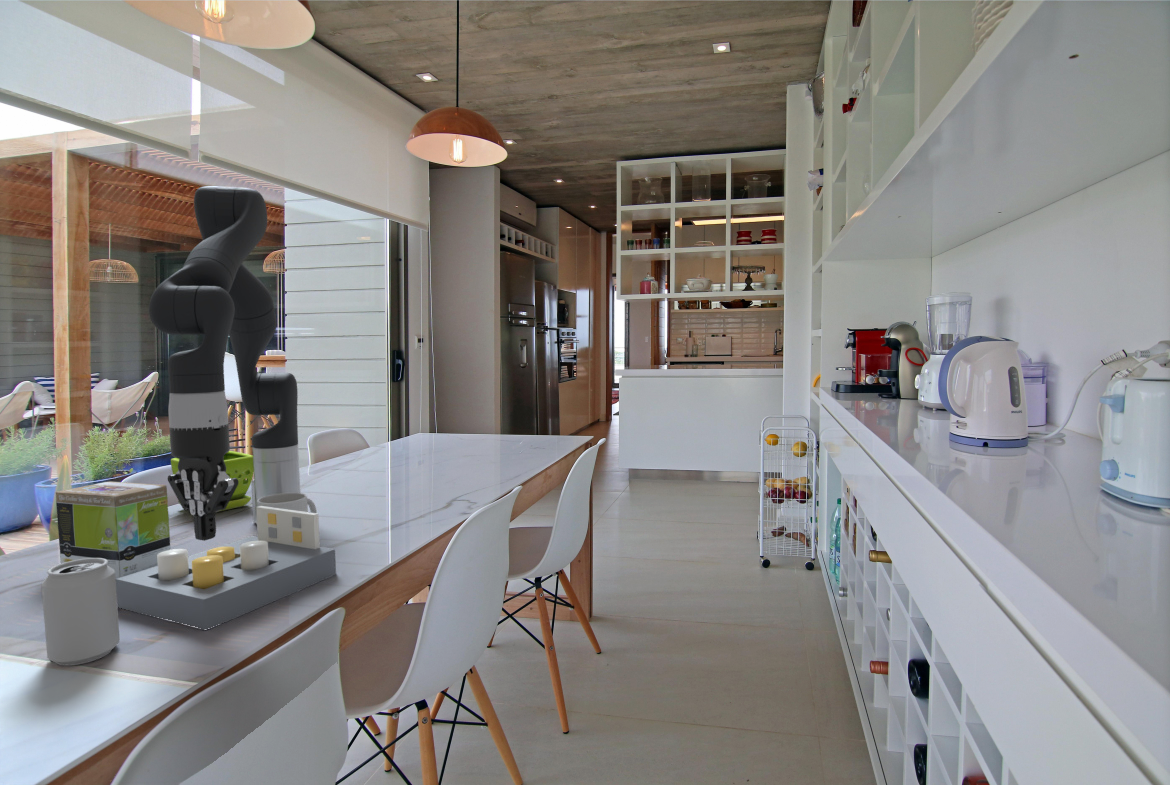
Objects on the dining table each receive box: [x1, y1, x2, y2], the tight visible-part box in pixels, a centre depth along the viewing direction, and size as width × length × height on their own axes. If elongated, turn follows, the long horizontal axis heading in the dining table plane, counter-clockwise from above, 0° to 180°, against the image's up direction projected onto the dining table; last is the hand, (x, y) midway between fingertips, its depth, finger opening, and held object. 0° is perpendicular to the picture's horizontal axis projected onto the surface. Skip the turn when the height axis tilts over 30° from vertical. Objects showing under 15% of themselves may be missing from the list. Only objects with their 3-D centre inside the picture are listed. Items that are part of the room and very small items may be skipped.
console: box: [115, 506, 337, 630], centre depth 107 cm, size 20×24×10 cm
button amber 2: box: [192, 555, 224, 589], centre depth 99 cm, size 4×4×5 cm
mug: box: [257, 492, 318, 514], centre depth 129 cm, size 11×10×10 cm
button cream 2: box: [240, 540, 269, 571], centre depth 106 cm, size 4×4×5 cm
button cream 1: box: [157, 548, 189, 581], centre depth 102 cm, size 4×4×5 cm
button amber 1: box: [207, 546, 235, 563], centre depth 110 cm, size 4×4×5 cm
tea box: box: [55, 481, 172, 580], centre depth 118 cm, size 15×10×15 cm, turn 71°
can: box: [41, 558, 120, 667], centre depth 85 cm, size 8×8×12 cm
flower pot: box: [170, 450, 254, 513], centre depth 160 cm, size 14×14×13 cm
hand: (205, 538), depth 98 cm, fingers closed
